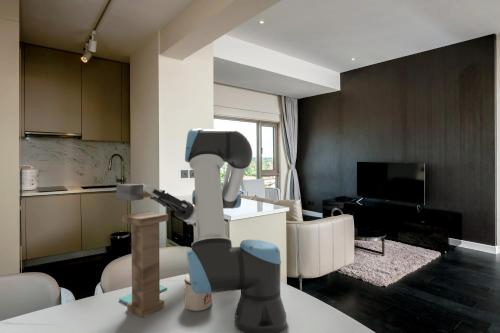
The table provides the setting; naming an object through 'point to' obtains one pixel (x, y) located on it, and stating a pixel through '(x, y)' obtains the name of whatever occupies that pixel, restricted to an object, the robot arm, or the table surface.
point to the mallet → (132, 192)
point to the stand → (145, 262)
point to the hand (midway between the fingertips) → (143, 186)
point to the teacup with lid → (196, 298)
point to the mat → (128, 298)
